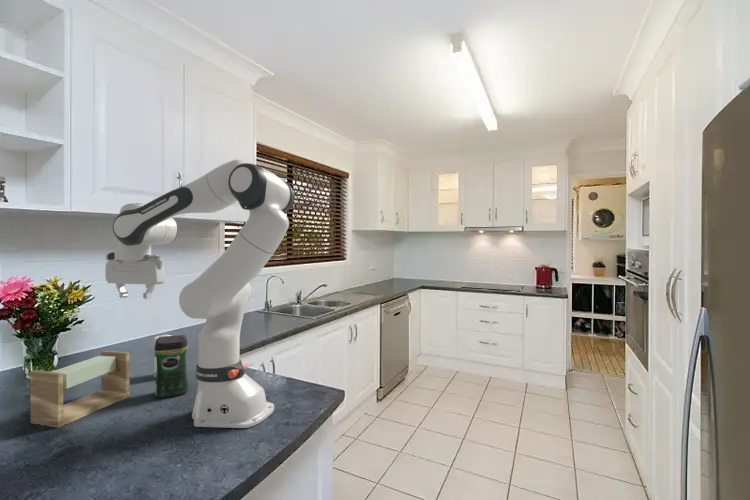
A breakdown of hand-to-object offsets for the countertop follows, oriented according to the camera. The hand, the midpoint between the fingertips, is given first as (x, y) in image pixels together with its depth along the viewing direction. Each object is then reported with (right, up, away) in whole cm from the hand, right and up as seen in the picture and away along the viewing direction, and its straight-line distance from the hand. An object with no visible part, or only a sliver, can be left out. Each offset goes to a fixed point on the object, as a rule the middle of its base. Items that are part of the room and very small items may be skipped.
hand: (135, 298), depth 118 cm
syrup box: (0, -31, +18) cm, 36 cm away
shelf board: (-9, -22, -10) cm, 26 cm away
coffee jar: (+11, -31, +2) cm, 33 cm away
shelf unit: (-9, -31, -10) cm, 34 cm away
